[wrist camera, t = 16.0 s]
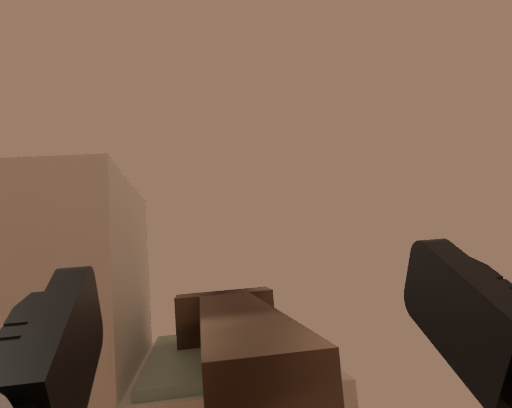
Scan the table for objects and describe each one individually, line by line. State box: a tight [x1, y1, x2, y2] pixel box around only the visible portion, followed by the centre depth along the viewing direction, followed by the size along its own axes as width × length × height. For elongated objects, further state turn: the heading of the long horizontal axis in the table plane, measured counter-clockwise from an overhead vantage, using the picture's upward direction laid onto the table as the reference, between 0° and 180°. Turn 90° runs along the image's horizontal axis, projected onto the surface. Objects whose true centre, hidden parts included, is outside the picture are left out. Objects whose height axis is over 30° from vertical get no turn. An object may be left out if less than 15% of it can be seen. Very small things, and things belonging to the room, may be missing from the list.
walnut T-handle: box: [174, 287, 345, 408], centre depth 19 cm, size 6×20×3 cm, turn 8°
